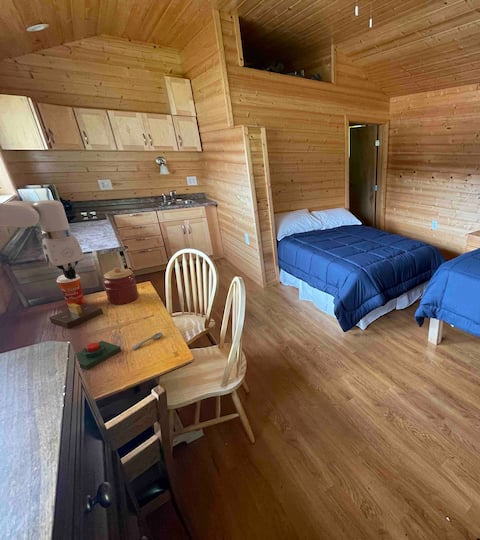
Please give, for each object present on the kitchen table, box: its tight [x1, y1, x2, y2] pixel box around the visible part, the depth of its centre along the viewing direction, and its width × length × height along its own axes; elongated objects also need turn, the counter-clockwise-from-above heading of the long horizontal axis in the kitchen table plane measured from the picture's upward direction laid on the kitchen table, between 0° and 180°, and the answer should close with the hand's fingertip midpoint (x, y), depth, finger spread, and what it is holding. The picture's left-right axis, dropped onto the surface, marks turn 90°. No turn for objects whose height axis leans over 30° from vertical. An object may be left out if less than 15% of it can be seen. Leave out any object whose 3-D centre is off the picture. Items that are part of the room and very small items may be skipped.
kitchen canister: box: [102, 266, 140, 305], centre depth 152 cm, size 13×13×18 cm
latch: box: [67, 302, 82, 315], centre depth 135 cm, size 6×2×4 cm, turn 71°
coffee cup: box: [56, 273, 85, 306], centre depth 145 cm, size 8×8×15 cm
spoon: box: [130, 332, 163, 351], centre depth 125 cm, size 3×12×2 cm, turn 153°
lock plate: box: [48, 303, 104, 330], centre depth 136 cm, size 14×11×3 cm
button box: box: [75, 340, 122, 371], centre depth 114 cm, size 12×10×4 cm
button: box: [85, 342, 100, 352], centre depth 113 cm, size 4×4×2 cm
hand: (71, 278), depth 119 cm, fingers closed
